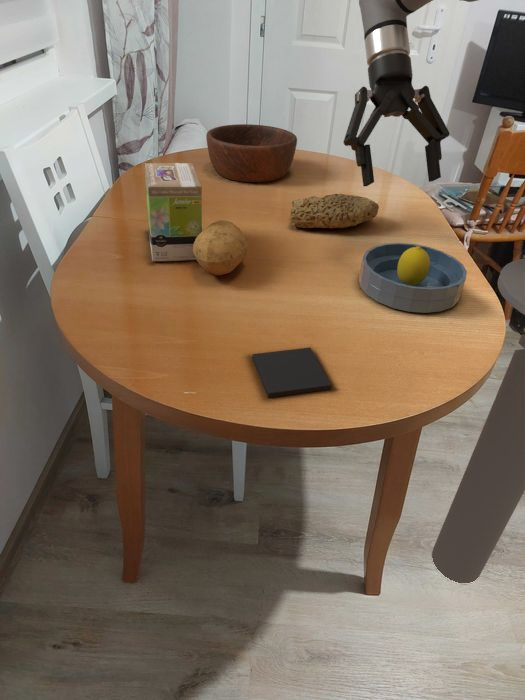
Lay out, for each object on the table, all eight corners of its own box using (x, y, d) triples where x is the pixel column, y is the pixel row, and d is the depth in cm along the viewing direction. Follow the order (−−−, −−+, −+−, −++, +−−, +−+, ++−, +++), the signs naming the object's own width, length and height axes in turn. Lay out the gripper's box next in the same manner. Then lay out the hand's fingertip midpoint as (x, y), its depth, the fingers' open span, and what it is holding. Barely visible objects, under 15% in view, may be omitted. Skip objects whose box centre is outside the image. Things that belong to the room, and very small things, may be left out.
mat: (310, 351, 78) (310, 347, 78) (331, 389, 71) (331, 384, 71) (252, 358, 76) (252, 353, 76) (268, 397, 69) (268, 393, 69)
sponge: (292, 239, 114) (384, 227, 111) (287, 203, 111) (382, 190, 108) (294, 226, 126) (378, 216, 123) (291, 194, 123) (376, 182, 120)
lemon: (411, 277, 98) (421, 238, 94) (430, 291, 94) (440, 251, 90) (387, 281, 97) (396, 242, 92) (404, 296, 93) (414, 255, 88)
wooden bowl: (262, 155, 162) (263, 120, 156) (312, 178, 146) (315, 140, 140) (191, 165, 150) (190, 128, 144) (236, 192, 134) (237, 151, 128)
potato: (184, 283, 93) (182, 242, 88) (203, 251, 104) (202, 213, 100) (237, 290, 92) (238, 248, 87) (251, 256, 103) (252, 218, 99)
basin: (427, 263, 105) (433, 240, 102) (479, 309, 91) (487, 284, 88) (344, 269, 101) (347, 246, 98) (384, 319, 87) (390, 293, 84)
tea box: (204, 260, 101) (202, 185, 92) (151, 263, 99) (145, 186, 90) (195, 230, 113) (193, 160, 104) (148, 231, 111) (142, 161, 102)
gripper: (436, 71, 99) (448, 183, 101) (316, 72, 92) (331, 192, 94) (461, 50, 92) (474, 171, 93) (333, 50, 85) (349, 180, 87)
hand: (402, 182), depth 94 cm, fingers open, 13 cm apart
